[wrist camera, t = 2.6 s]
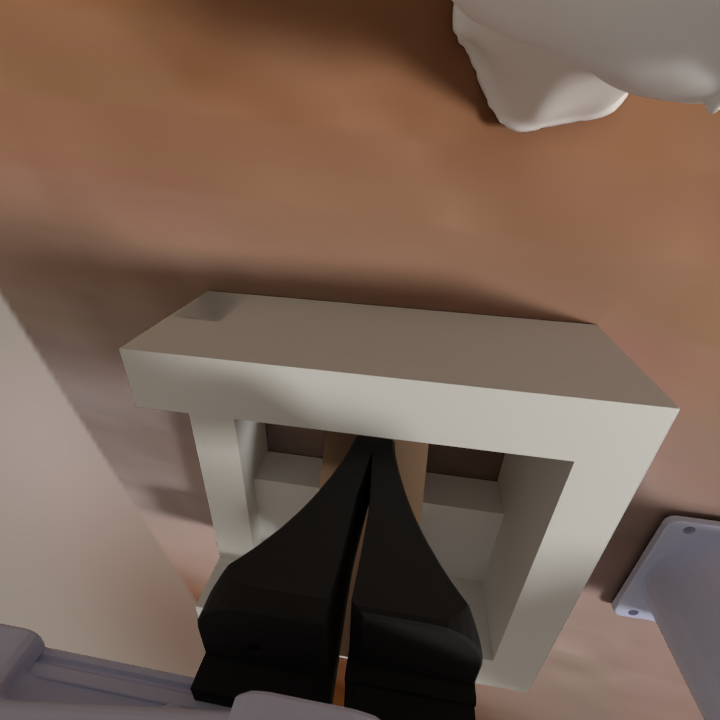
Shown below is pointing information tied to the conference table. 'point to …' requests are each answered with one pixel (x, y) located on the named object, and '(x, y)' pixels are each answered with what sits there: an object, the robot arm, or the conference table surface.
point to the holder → (420, 438)
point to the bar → (413, 479)
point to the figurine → (588, 55)
